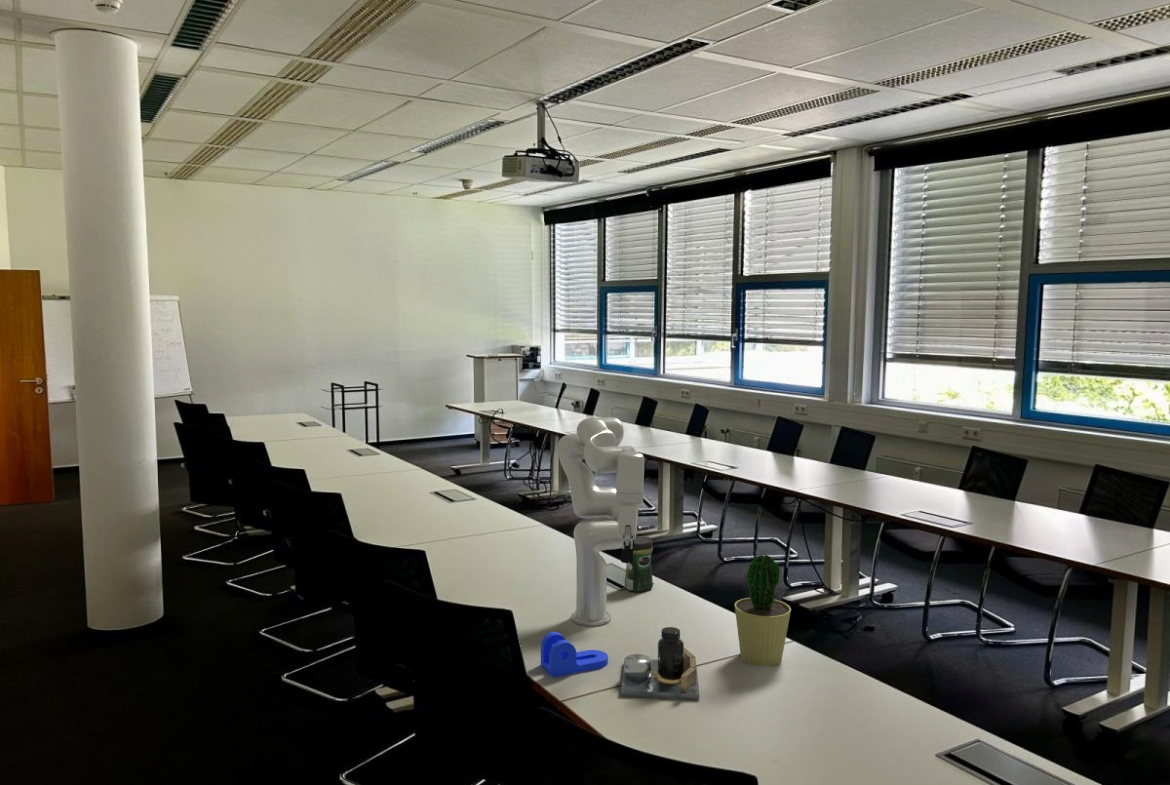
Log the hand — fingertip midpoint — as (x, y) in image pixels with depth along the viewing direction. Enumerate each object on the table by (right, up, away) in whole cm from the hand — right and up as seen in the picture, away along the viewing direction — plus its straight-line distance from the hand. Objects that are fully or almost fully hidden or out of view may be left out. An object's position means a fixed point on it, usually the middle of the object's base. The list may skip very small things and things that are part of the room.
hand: (627, 556), depth 225 cm
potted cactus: (+38, -29, +2) cm, 48 cm away
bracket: (-14, -29, -4) cm, 33 cm away
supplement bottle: (+11, -29, -13) cm, 33 cm away
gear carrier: (+7, -30, -13) cm, 33 cm away
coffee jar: (+7, -24, +60) cm, 65 cm away
